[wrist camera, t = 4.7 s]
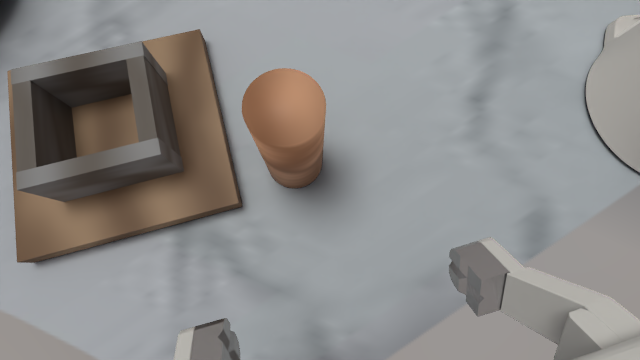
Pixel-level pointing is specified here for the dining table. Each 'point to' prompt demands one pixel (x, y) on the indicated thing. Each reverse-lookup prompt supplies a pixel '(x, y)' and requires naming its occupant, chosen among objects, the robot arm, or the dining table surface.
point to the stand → (116, 145)
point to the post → (287, 124)
